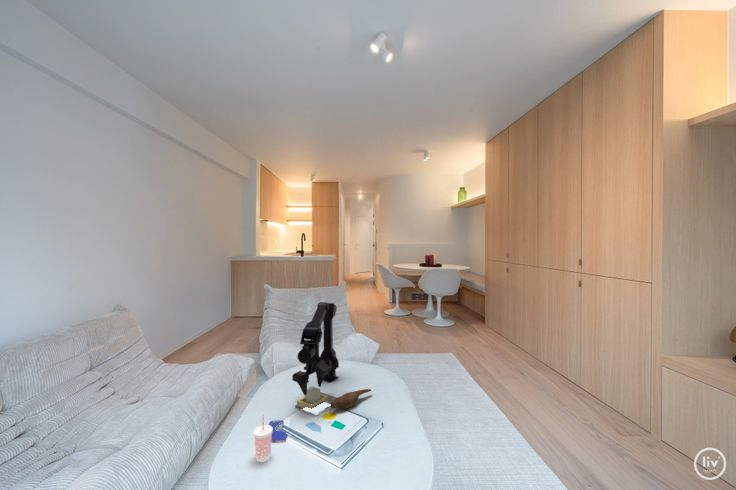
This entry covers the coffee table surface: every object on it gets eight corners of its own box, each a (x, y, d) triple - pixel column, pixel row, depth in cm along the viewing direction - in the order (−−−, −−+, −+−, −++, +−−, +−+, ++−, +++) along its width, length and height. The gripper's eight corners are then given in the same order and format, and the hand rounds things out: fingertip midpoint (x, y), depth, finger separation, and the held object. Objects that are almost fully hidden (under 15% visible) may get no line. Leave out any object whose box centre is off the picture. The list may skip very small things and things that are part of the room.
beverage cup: (266, 448, 109) (265, 408, 109) (276, 456, 105) (276, 414, 105) (249, 458, 105) (249, 415, 104) (260, 466, 101) (259, 422, 101)
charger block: (311, 399, 141) (311, 386, 141) (320, 402, 138) (320, 388, 138) (305, 403, 138) (305, 389, 138) (314, 406, 135) (314, 392, 135)
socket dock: (318, 393, 149) (318, 387, 149) (339, 400, 142) (339, 393, 142) (295, 407, 136) (295, 400, 136) (316, 415, 130) (316, 408, 130)
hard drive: (269, 420, 124) (262, 440, 112) (291, 419, 125) (285, 439, 113) (269, 424, 125) (262, 445, 112) (291, 423, 125) (285, 443, 113)
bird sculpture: (375, 397, 145) (375, 386, 145) (333, 420, 127) (333, 407, 127) (364, 392, 150) (364, 382, 149) (323, 413, 131) (323, 401, 131)
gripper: (311, 366, 126) (311, 405, 126) (340, 352, 141) (340, 387, 141) (291, 360, 132) (291, 397, 132) (321, 347, 147) (321, 381, 147)
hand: (312, 390), depth 138 cm, fingers open, 9 cm apart
